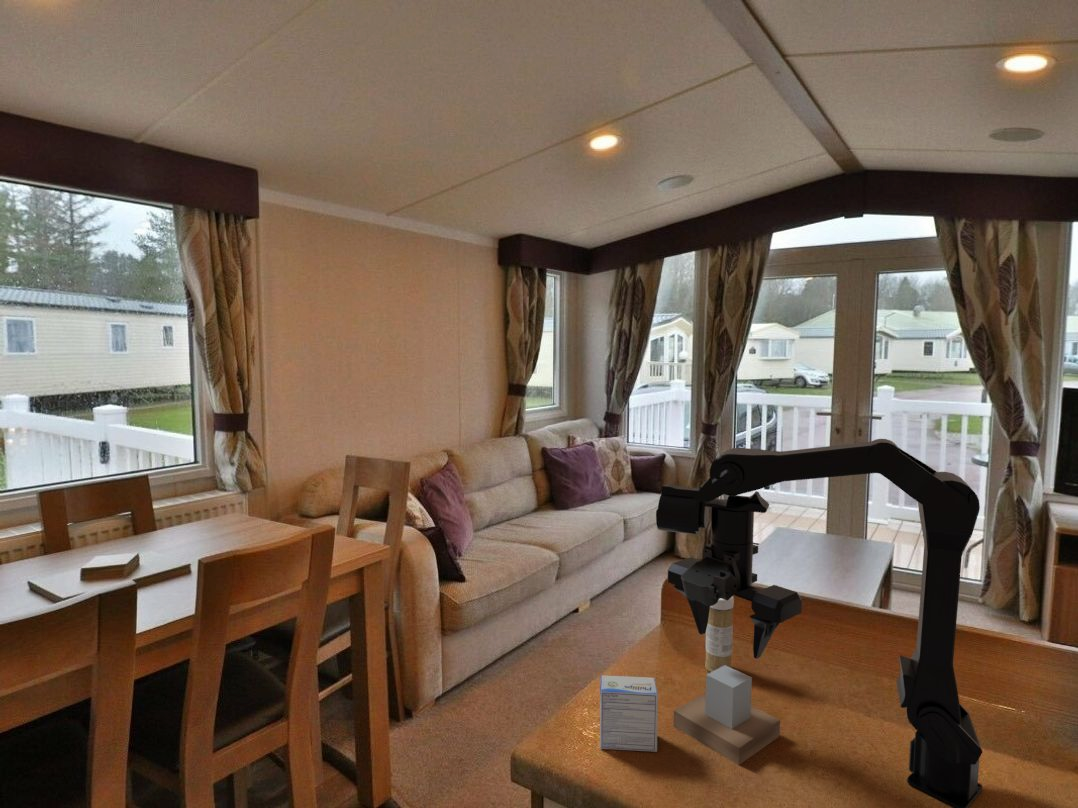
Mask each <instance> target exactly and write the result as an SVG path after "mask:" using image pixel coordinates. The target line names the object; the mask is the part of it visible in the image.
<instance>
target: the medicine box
mask: <svg viewBox="0 0 1078 808" xmlns="http://www.w3.org/2000/svg"><path fill="white" fill-rule="evenodd" d="M656 681H657V680H656V678H654V677H643V676H626V675H624V676H623V675H601V676H600V684H599V685H600V687H599V692H600V693H599V749H601V750H615V751H619V750H620V751H636V752H637V751H639V752H653V753H658V716H659V715H658V713H659V711H658V709H659V693H658V688H657V683H656Z"/></svg>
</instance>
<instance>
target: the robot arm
mask: <svg viewBox="0 0 1078 808" xmlns="http://www.w3.org/2000/svg"><path fill="white" fill-rule="evenodd" d="M867 474H868V475H870V474H880V475H881V476H883V477H884V478H886V480H889V481H890V482H891V483H892V484H894V486H896V487H898V488H899V490H901V491H902V492H904V493H905V494H906V495H908V496H909V497H911V498H912V499H913V500H915V501H916V502H917V505H918V507H917V508H918V514H919V515H918V516H919V519H920V526H921V533H922V538H923V542H924V543H923V556H922V557H923V558H922V570H921V571H922V572H921V581H920V582H921V584H920V595H919V610H918V611H919V612H918V622H917V623H918V624H917V635H916V636H917V637H916V647H915V650H914V652H913V654H912V655H911V657H907V656H904V655H898V657H899V665H900V666H899V667H900V673H899V677H898V678H897V680H896V686H897V692H898V699H899V705H900V708H902V709H903V708H905V711H906V717H907V720H908V723H909V724H910V725H912V727H913V728H914V729H915V733H914V738H913V739H912V740H910V742H909V743H910V744H909V760H908V770H909V771H910V772H911V773H910V775H908V776H907V779H906V782H907V784H908V785H911V786H912V787H914V788H916V789H918V790H920V791H921V792H924V793H926V794H928V795H930V796H932V797H933V798H936V799H938V800H940V801H941V802H944V803H946V804H947V805H950V806H952V807H953V808H969V807H970V806H971V804H972V803H973V802H974V801H975V800H976V798H978V796H979V795H980V794H981V793H982V791H983V785H982V784H981V783H980V782H979V771H980V770H979V768H980V757H981V755H982V754H983V749H982V746H981V744H980V740H979V739H978V738H979V737H978V735H977V732H976V729H975V726H974V723H973V719H972V718H971V715H970V713H969V711H968V710H967V709H966V708H965V707H964V706H963V705H962V704H961V703H960V698H959V692H958V686H957V680H956V675H955V669H954V659H955V658H954V656H955V654H954V653H955V642H956V631H957V618H958V610H959V609H958V608H959V593H960V583H961V570H962V560H963V554H964V552H965V550H966V547H967V545H968V543H969V542H970V540H971V538H972V536H973V532H974V530H975V529H974V528H975V526H976V524H977V521H978V516H979V513H980V500H979V497H978V495H977V493H976V492H975V491H974V490H973V488H971V486H970V485H968V483H967V482H966V481H965V480H964V479H963V478H962V477H961V476H958V475H956V474H955V473H953V472H949V471H937V470H935V469H934V468H932V467H930V466H929V465H927V464H926V463H924V462H923V461H921V460H919V459H918V458H916V457H914V455H911V454H910V453H908V452H906V451H905V450H903V449H901V447H899V446H898V445H897V444H896V443H895V442H893V441H892V440H890V439H887V438H878V439H877V438H876V439H874V440H870V441H863V442H857V443H856V442H855V443H846V444H838V445H828V446H818V447H810V448H801V449H791V450H783V451H776V450H770V449H769V450H766V449H760V448H748V447H747V448H746V447H745V448H744V447H732V448H729V449H726V450H725V451H722V453H720V454H719V456H717V457H716V458H715V460H713V462H712V463H711V466H710V469H709V479H707V480H704V481H703V482H702V484H701V485H700V486H699V487H689V486H680V485H677V484H672V483H665V484H663V485H662V486H661V491H660V492H661V493H660V496H659V500H658V505H657V509H656V510H655V511H656V512H655V520H656V521H655V522H656V528H657V530H658V531H662V532H663V531H665V532H673V533H680V534H687V535H695V536H698V535H699V534H700V532H701V529H705V530H706V529H707V528H708V525H709V519H710V518H711V519H710V522H711V523H710V543H709V544H705V545H704V549H703V551H702V553H703V554H702V557H701V560H700V559H697V558H695V557H688V558H685V559H681V560H678V561H675V562H672V563H671V564H670V565H669V566H668V569H667V580H666V581H667V582H668V583H669V584H672V585H673V587H674V588H673V589H674V590H676V591H678V592H679V593H680V594H681V595H683V596H684V597H685V598H686V601H687V603H688V605H689V607H690V610H691V613H692V617H693V619H694V622H695V625H696V628H697V629H696V630H697V631H698V633H699V635H704V634H706V629H707V625H708V618H709V610H710V606H713V605H715V604H716V603H717V602H718V600H719V599H720V598H722V599H724V600H729V599H730V598H731V597H732V596H733V597H734V596H735V597H738V598H740V599H743V600H746V601H750V602H751V610H752V611H753V614H751V615H749V618H750V620H751V621H752V623H753V625H754V627H753V640H752V641H753V643H752V644H753V645H752V649H753V658H754V659H756V660H758V659H759V658H761V656H762V655H763V653H764V651H765V649H766V647H767V645H768V643H769V642H770V639H771V637H772V636H773V634H774V632H775V630H776V629H777V628H778V626H779V625H780V624H781V623H783V622H785V621H788V620H789V619H791V618H792V619H793V618H794V617H796V616H798V615H800V614H802V607H803V600H802V598H801V596H800V594H799V593H798V592H797V591H794V590H792V589H791V590H790V589H788V588H786V587H782V586H779V585H777V584H776V585H775V584H772V585H770V586H768V587H766V588H763V589H760V588H757V587H754V586H752V585H753V583H756V582H758V573H755V572H753V560H754V558H753V557H754V555H756V554H758V553H759V545H756V544H754V524H755V523H754V522H755V513H761V514H765V513H767V512H768V509H769V507H770V503H769V502H768V501H767V500H765V499H764V498H763V497H762V496H761V494H760V492H759V490H762V489H764V488H767V487H769V486H773V485H775V484H780V483H783V482H791V481H792V482H793V481H802V480H803V481H804V480H813V479H814V480H815V479H826V478H836V477H837V478H838V477H845V476H847V477H849V476H858V475H867ZM757 490H758V491H757ZM750 492H754V493H753V494H751V495H750V496H746V495H742V494H747V493H750ZM723 495H726V496H728V497H727V499H724V498H721V499H719V497H722V496H723ZM710 508H711V515H710ZM710 516H711V517H710Z"/></svg>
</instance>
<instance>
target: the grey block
mask: <svg viewBox="0 0 1078 808" xmlns="http://www.w3.org/2000/svg"><path fill="white" fill-rule="evenodd" d="M752 681H753V677H752V676H749V675H747V674H745V673H743V672H741V671H739V670H737V669H734V668H730V667H728V666H726V665H724V666H722V667H720V668H718V669H716V670H714V671H713V672H709V673H707V674H705V693H706V701H705V715H707V716H709V717H711V718H712V719H714V720H716V721H718V722H720V723H722V724H723V725H725V726H727V727H729V728H731V729H733V728H735V727H736V726H738V725H739V724H741V723H743V722H744V721H746V720H747V719H749V718H750V715H751V706H752V683H753V682H752Z"/></svg>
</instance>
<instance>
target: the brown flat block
mask: <svg viewBox="0 0 1078 808" xmlns="http://www.w3.org/2000/svg"><path fill="white" fill-rule="evenodd" d="M705 701H706V692H705V693H703V694H701V695H699V696H697V697H695V698H694V699H693V700H690V701H688V702H687V703H684V704H683V705H682V706H679V707H678V708H676V709H674V710H673V728H675V729H677V730H678V731H680V732H682V733H684V734H685V735H687V736H689V737H690V738H692V739H694V740H695V741H697V742H699V743H700V744H703V745H704V746H706V747H707V748H709V749H710V750H712V751H714V752H715V753H717V754H719V755H721V756H723V758H725V759H727V760H729V761H730V762H733V763H734V764H736V765H737V766H740V765H742V763H745V762H746V761H747V760H748V759H750V758H751V757H752V756H754V755H756V754H757V753H759V752H760V751H762V750H763V749H764V748H765V747H767V746H769V744H771V743H773V742H774V741H775V740H777V739H778V738H779V737H780V736H781V735H780V733H781V719H779V718H776V717H775V716H773V715H771V714H769V713H767V712H765V711H763V710H760V709H759V708H757V707H755V706H753V705H751V715H750V718H749V719H747V720H746V721H744V722H743V723H741V724H739V725H738V726H736V727H735V728H733V729H731V728H729V727H727V726H725V725H723V724H722V723H720V722H718V721H716V720H714V719H712V718H711V717H709V716H707V715H705Z"/></svg>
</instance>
